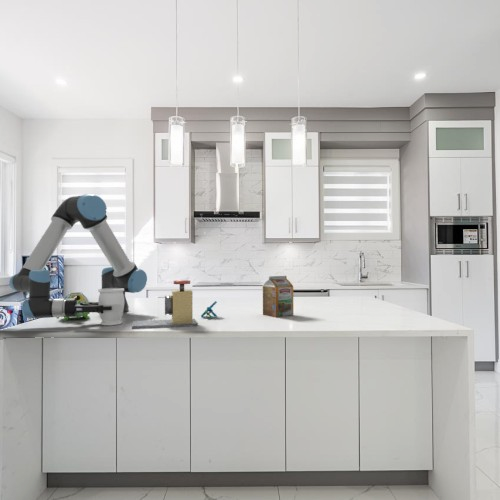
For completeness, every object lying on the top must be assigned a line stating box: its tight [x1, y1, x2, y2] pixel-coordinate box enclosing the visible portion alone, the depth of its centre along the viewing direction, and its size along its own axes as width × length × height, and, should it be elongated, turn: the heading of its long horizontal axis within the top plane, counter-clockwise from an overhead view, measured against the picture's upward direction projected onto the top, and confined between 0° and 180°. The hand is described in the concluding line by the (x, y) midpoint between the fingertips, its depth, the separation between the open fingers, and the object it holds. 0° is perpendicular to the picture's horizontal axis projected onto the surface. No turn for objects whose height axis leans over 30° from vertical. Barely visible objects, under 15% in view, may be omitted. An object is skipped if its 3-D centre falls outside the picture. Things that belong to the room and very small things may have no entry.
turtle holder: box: [62, 291, 91, 322], centre depth 179 cm, size 12×18×12 cm
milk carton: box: [262, 275, 294, 318], centre depth 190 cm, size 11×11×19 cm
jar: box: [97, 288, 124, 326], centre depth 166 cm, size 11×10×15 cm
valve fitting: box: [131, 279, 199, 330], centre depth 164 cm, size 13×26×18 cm, turn 104°
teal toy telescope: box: [200, 300, 218, 319], centre depth 184 cm, size 11×6×10 cm
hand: (121, 306), depth 167 cm, fingers closed on jar, 10 cm apart
